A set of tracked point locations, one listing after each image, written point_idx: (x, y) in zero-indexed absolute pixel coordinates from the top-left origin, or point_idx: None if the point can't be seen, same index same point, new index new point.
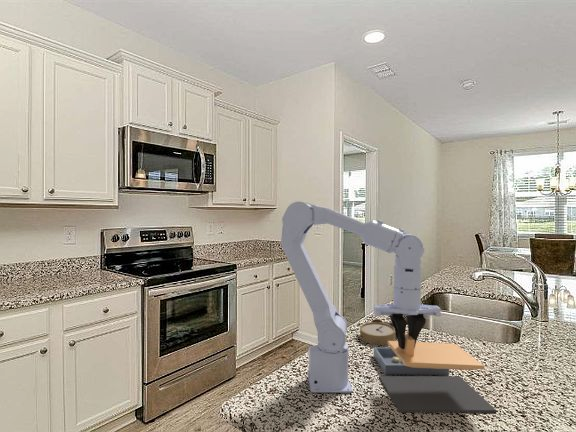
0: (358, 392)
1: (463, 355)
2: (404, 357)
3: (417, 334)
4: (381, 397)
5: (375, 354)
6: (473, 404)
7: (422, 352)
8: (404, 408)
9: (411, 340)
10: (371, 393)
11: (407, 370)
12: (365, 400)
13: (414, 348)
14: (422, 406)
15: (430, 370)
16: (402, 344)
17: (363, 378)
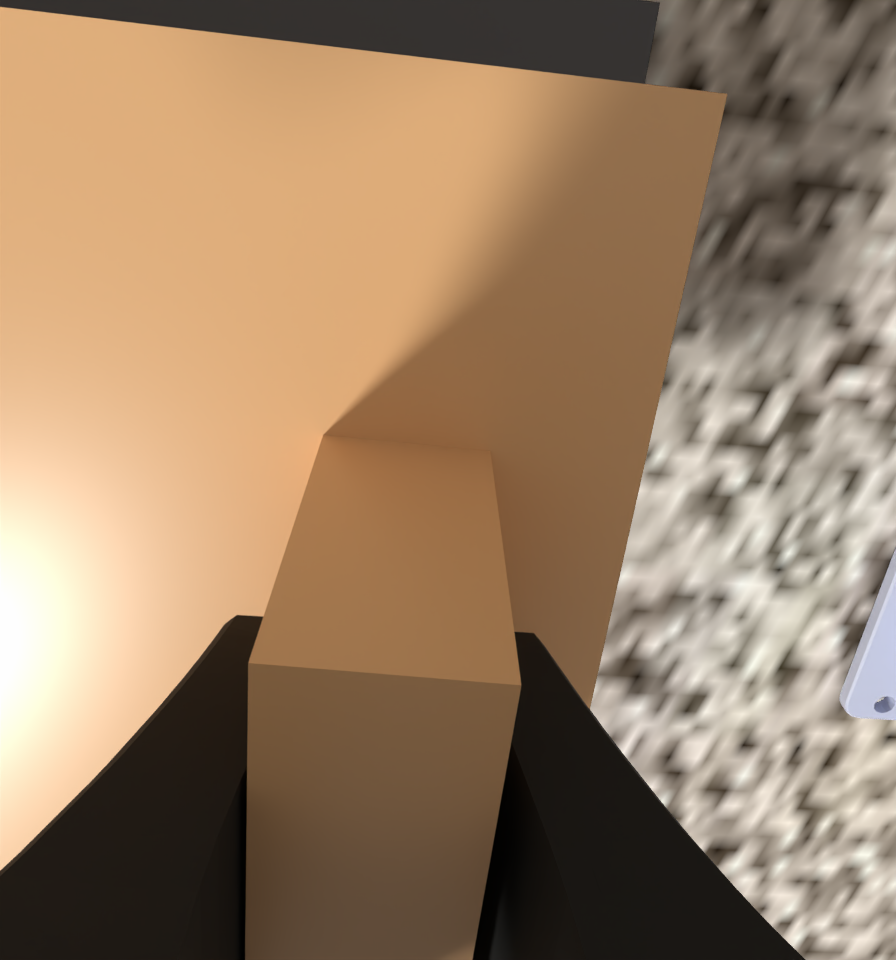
0: (869, 430)
1: None
2: (595, 360)
3: (38, 890)
4: (688, 321)
5: None
6: None
7: (43, 597)
8: (583, 23)
9: (372, 660)
10: (750, 402)
11: None
12: (882, 282)
13: (227, 622)
14: (345, 42)
15: None
16: (559, 681)
17: (687, 657)
